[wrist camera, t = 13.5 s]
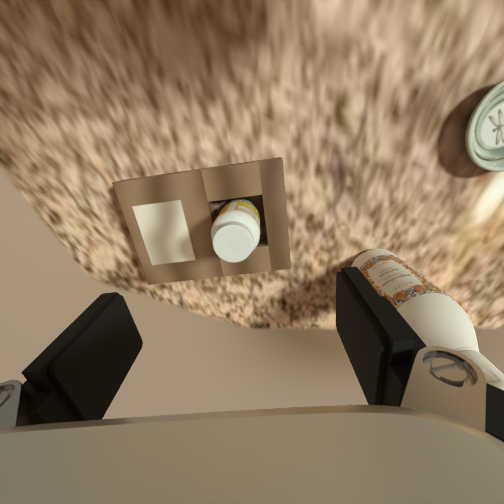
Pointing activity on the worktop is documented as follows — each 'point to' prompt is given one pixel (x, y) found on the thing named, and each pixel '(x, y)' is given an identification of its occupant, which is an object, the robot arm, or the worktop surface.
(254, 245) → the supplement bottle
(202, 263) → the rack board
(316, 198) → the worktop surface
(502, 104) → the saucer
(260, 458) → the robot arm
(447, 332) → the bath foam
